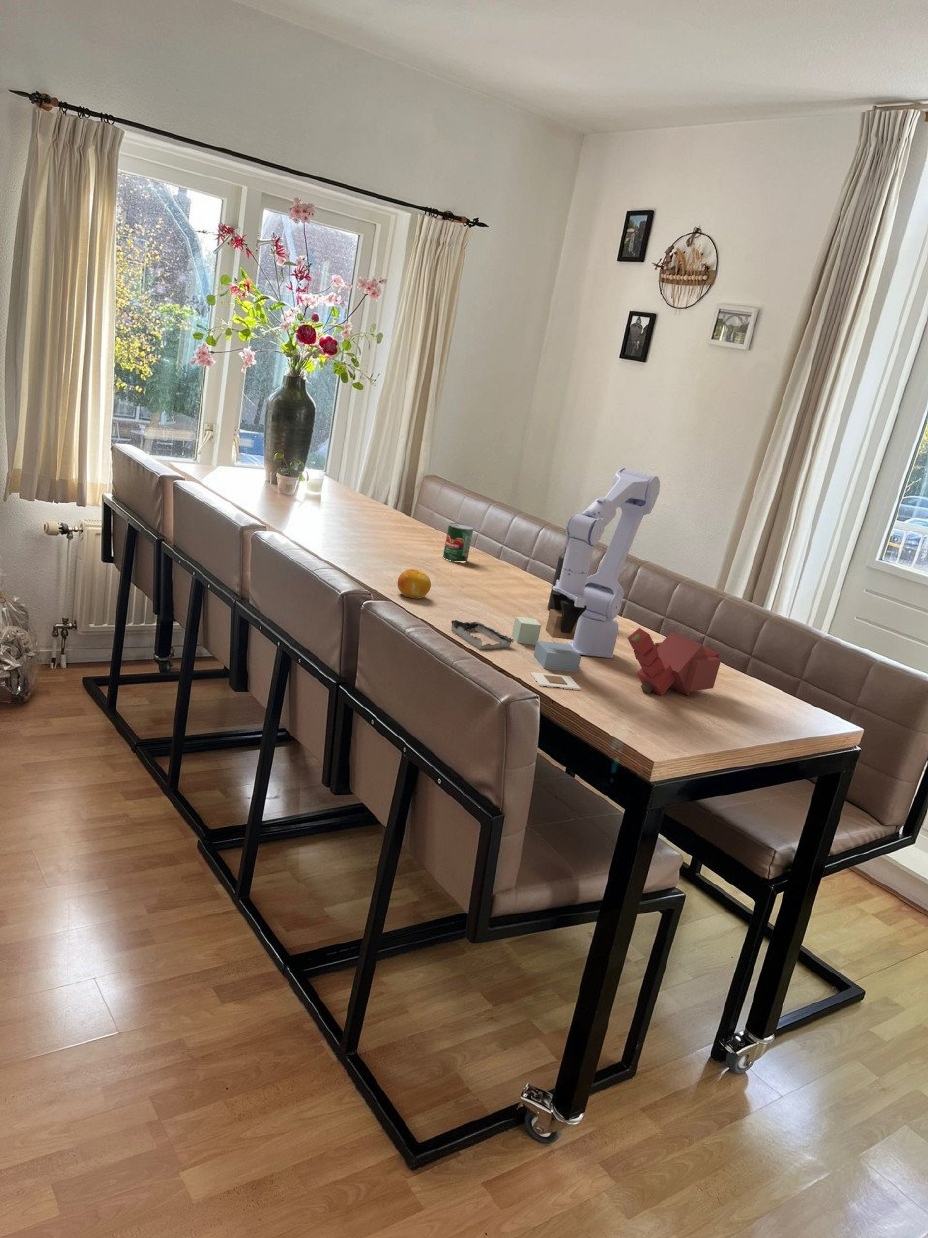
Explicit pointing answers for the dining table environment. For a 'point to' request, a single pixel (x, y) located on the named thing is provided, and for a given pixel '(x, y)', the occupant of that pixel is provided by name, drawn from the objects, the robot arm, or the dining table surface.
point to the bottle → (557, 576)
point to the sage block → (526, 630)
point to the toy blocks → (674, 663)
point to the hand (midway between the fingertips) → (561, 628)
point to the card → (555, 681)
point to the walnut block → (558, 626)
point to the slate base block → (557, 656)
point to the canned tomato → (458, 542)
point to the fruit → (414, 583)
